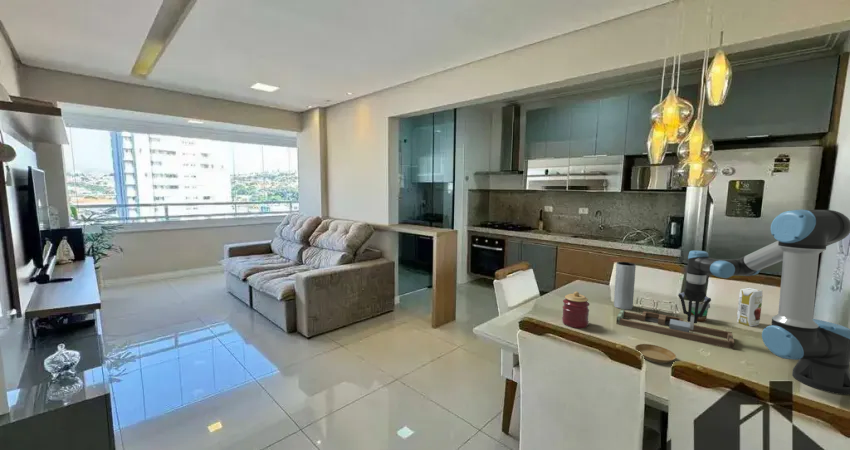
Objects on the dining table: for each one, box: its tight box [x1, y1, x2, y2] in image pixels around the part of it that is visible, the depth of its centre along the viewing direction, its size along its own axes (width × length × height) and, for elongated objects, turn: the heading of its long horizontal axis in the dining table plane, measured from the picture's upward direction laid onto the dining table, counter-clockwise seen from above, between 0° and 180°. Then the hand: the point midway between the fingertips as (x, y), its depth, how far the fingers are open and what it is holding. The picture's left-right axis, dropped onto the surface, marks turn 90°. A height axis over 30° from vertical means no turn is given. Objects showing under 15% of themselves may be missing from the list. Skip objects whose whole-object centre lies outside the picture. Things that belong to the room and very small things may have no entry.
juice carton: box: [736, 287, 763, 327], centre depth 184 cm, size 8×9×19 cm
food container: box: [687, 300, 711, 323], centre depth 188 cm, size 12×6×10 cm, turn 105°
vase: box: [613, 261, 637, 311], centre depth 209 cm, size 10×10×27 cm
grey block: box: [668, 319, 691, 333], centre depth 173 cm, size 8×8×5 cm
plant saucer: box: [634, 343, 677, 364], centre depth 148 cm, size 15×15×3 cm
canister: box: [561, 291, 590, 329], centre depth 183 cm, size 13×13×18 cm
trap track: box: [615, 309, 735, 350], centre depth 178 cm, size 22×47×4 cm, turn 52°
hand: (691, 328), depth 170 cm, fingers closed
